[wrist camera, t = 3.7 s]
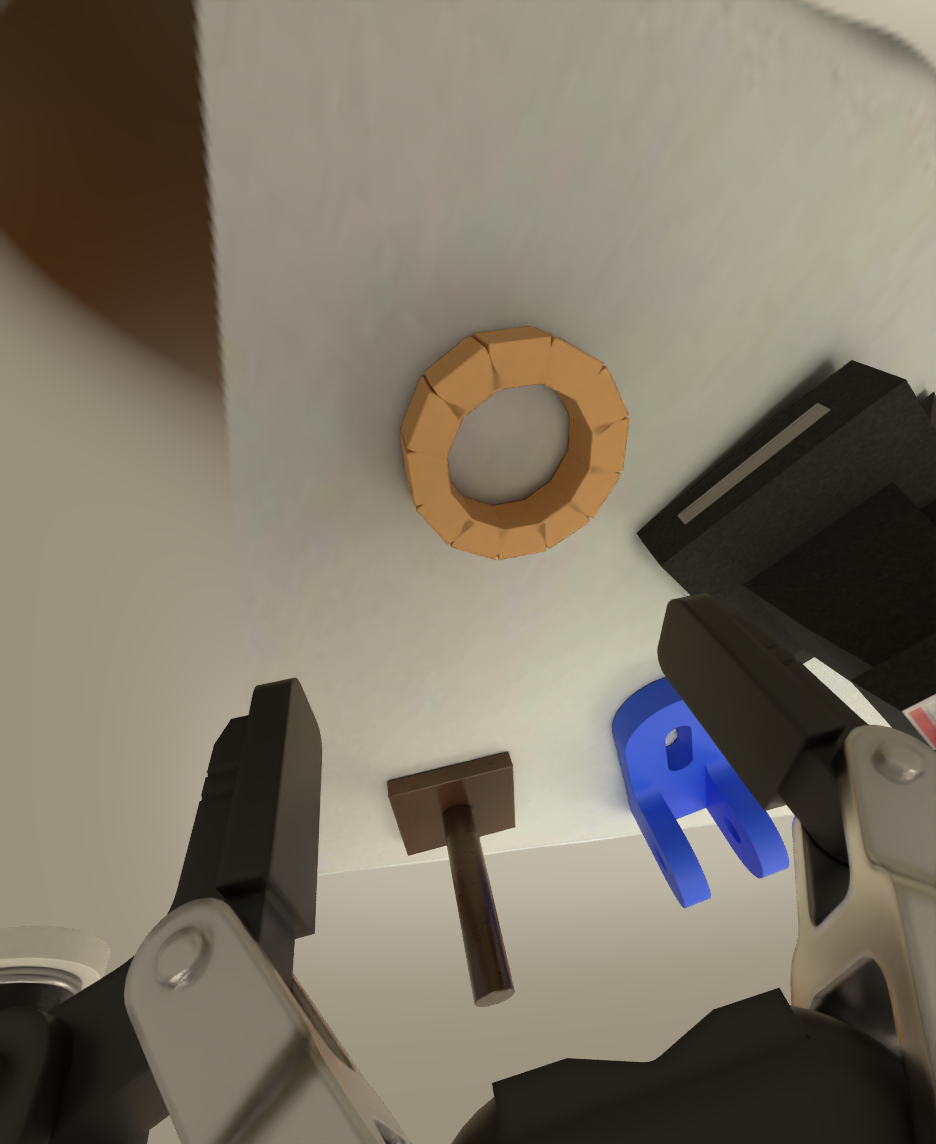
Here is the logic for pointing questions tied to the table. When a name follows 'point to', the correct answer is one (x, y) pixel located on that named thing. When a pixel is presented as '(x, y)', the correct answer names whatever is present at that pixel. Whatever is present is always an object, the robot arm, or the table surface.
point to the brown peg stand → (464, 852)
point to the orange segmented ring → (470, 382)
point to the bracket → (687, 791)
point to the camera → (828, 538)
